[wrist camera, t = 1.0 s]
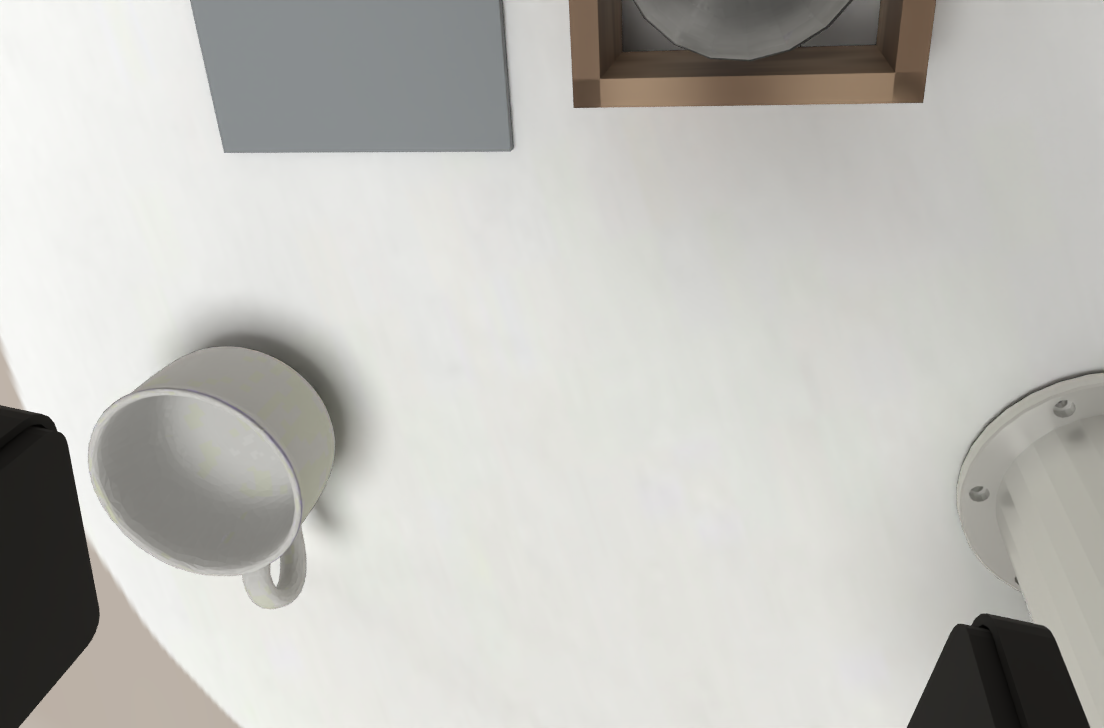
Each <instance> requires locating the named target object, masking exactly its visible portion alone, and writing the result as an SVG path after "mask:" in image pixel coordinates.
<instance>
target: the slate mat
mask: <svg viewBox="0 0 1104 728" xmlns="http://www.w3.org/2000/svg"><path fill="white" fill-rule="evenodd" d="M190 2H191V6H192V11H193V15H194V20H195V24H196V29H197V33H198V38H199V42H200V47H201V51H202V55H203V60H204V64H205V69H206V73H207V78H208V82H209V87H210V91H211V96H212V100H213V105H214V109H215V114H216V118H217V123H218V127H219V131H220V136H221V140H222V145H223V149H224V153H279V152H494V151H511V150H512V149H513V139H512V126H511V113H510V99H509V86H508V73H507V60H506V47H505V34H504V21H503V8H502V0H190Z"/></svg>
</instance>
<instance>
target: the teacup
mask: <svg viewBox="0 0 1104 728" xmlns="http://www.w3.org/2000/svg"><path fill="white" fill-rule="evenodd" d="M334 456H335V436H334V430H333V425H332V422H331V419H330V416H329V414H328V411H327V409H326V407H325V405H324V403H323V401H322V400H321V398H320V397H319V395H318V394H317V392H316V391H315V390H314V388H313V387H312V386H311V385H310V384H309V383H308V382H307V381H306V380H305V379H304V378H303V377H302V376H301V375H300V374H299V373H298V372H296V371H295V370H294V369H292V368H291V367H290V366H288V365H287V364H285V363H283V362H282V361H280V360H278V359H276V358H274V357H272V356H270V355H267V354H265V353H262V352H259V351H256V350H252V349H247V348H243V347H233V346H221V347H211V348H206V349H202V350H198V351H195V352H192V353H190V354H187V355H185V356H183V357H181V358H179V359H177V360H175V361H174V362H172V363H170V364H169V365H167V366H166V367H164V368H163V369H162V370H160V371H159V372H157V373H156V374H154V375H153V376H152V377H150V378H149V379H148V380H147V381H145V382H144V383H143V384H141V385H140V386H139V387H138V388H136V389H135V390H134V391H133V392H132V393H130V394H128V395H126V396H124V397H122V398H120V399H119V400H117V401H116V402H114V403H113V404H112V405H111V406H110V407H108V408H107V409H106V410H105V411H104V412H103V414H102V415H101V417H100V418H99V420H98V421H97V423H96V425H95V427H94V429H93V432H92V434H91V439H90V442H89V448H88V464H89V473H90V477H91V482H92V485H93V488H94V491H95V493H96V494H97V497H98V499H99V501H100V503H101V505H102V507H103V508H104V510H105V511H106V512H107V514H108V515H109V517H110V519H111V520H112V521H113V522H114V523H115V524H116V525H117V526H118V527H119V529H120V530H121V531H122V532H123V533H124V535H126V536H127V537H128V538H129V539H130V540H131V541H132V542H133V543H135V544H136V545H137V546H138V547H140V548H141V549H142V550H144V551H145V552H147V553H148V554H150V555H152V556H153V557H155V558H157V559H159V560H161V561H162V562H164V563H166V564H169V565H171V566H173V567H176V568H179V569H182V570H185V571H188V572H192V573H196V574H202V575H211V576H236V575H242V578H243V583H244V586H245V590H246V592H247V594H248V596H249V598H250V599H251V600H252V602H253V603H255V604H256V605H257V606H259V607H261V608H264V609H276V608H281V607H283V606H286V605H288V604H290V603H292V602H293V601H294V600H295V599H296V598H297V597H298V595H299V594H300V592H301V591H302V588H303V585H304V582H305V577H306V551H305V544H304V539H303V533H302V528H301V525H302V523H303V522H304V520H305V519H306V517H307V516H308V514H309V513H310V511H311V510H312V508H313V507H314V505H315V503H316V502H317V500H318V498H319V497H320V495H321V493H322V491H323V489H324V487H325V485H326V483H327V481H328V479H329V476H330V474H331V470H332V466H333V462H334ZM279 557H280V576H279V582H278V584H277V587H275V585H274V583H273V581H272V578H271V575H270V563H272V562H274V561H275V560H277V559H278V558H279Z"/></svg>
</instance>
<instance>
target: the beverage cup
mask: <svg viewBox="0 0 1104 728" xmlns="http://www.w3.org/2000/svg"><path fill="white" fill-rule="evenodd" d="M633 1H634V2H635V4H636V6H637V7H638V9H639V11H640V13H641V14H642V16H643V18H644V19H645V20H647V21H648V22H649V23H650V24H651V25H652V26H653V27H655V28H656V29H657V30H658V31H659V32H660V33H662V34H663V35H664V36H665V37H666V38H667V39H668V40H670V41H671V42H672V43H673V44H674V45H677V46H679V47H682V48H684V49H687V50H689V51H692V52H694V53H697V54H699V55H702V56H704V57H706V58H709V59H717V60H734V61H754V60H758V59H762V58H766V57H769V56H773V55H777V54H781V53H784V52H788V51H791V50H793V49H795V48H796V47H798V46H800V45H801V44H803V43H804V42H806V41H808V40H809V39H811V38H812V37H814V36H816V35H817V34H819V33H820V32H822V31H824V30H825V29H827V28H828V27H829V26H830V25H831V24H832V23H833V22H834V21H835V20H836V19H837V17H838V16H839V15H840V14H841V13H842V12H843V11H844V10H845V9H846V7H847V6H848V5H849V4H850V3H851V2H852V1H853V0H633Z"/></svg>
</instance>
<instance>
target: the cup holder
mask: <svg viewBox="0 0 1104 728" xmlns="http://www.w3.org/2000/svg"><path fill="white" fill-rule="evenodd" d="M935 5H936V0H881V2H880V12H879V21H878V31H877V41H876V45H857V46H820V47H796V48H795V49H793V50H791V51H788V52H784V53H781V54H777V55H773V56H769V57H766V58H762V59H758V60H754V61H734V60H717V59H709V58H706V57H704V56H702V55H699V54H697V53H694V52H692V51H689V50H673V51H637V52H623V44H622V0H569V14H570V36H571V58H572V80H573V102H574V108H598V107H666V106H734V105H803V104H871V103H923V99H924V91H925V83H926V75H927V67H928V60H929V52H930V44H931V36H932V28H933V21H934V13H935Z"/></svg>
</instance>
